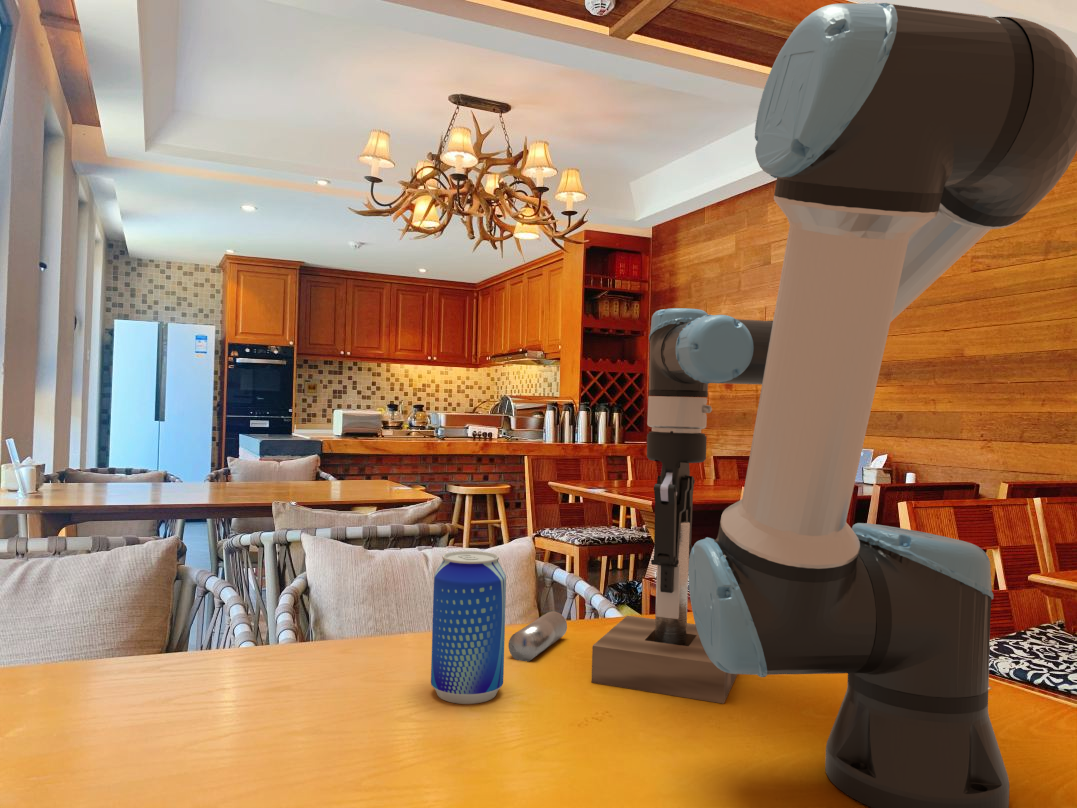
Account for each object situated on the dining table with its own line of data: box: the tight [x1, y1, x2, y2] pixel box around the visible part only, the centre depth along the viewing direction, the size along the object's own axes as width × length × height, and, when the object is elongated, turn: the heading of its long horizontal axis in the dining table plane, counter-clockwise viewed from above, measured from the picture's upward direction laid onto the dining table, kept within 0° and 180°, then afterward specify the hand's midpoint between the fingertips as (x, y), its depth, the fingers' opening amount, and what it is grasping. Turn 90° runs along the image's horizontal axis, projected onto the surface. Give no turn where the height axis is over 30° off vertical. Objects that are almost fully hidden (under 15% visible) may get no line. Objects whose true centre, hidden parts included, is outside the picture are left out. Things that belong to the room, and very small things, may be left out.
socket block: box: [591, 615, 738, 705], centre depth 103 cm, size 16×16×4 cm
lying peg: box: [507, 611, 568, 663], centre depth 112 cm, size 12×4×4 cm, turn 158°
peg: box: [654, 521, 690, 646], centre depth 103 cm, size 4×4×16 cm
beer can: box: [430, 550, 507, 705], centre depth 93 cm, size 8×8×16 cm
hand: (671, 612), depth 103 cm, fingers closed on peg, 4 cm apart
